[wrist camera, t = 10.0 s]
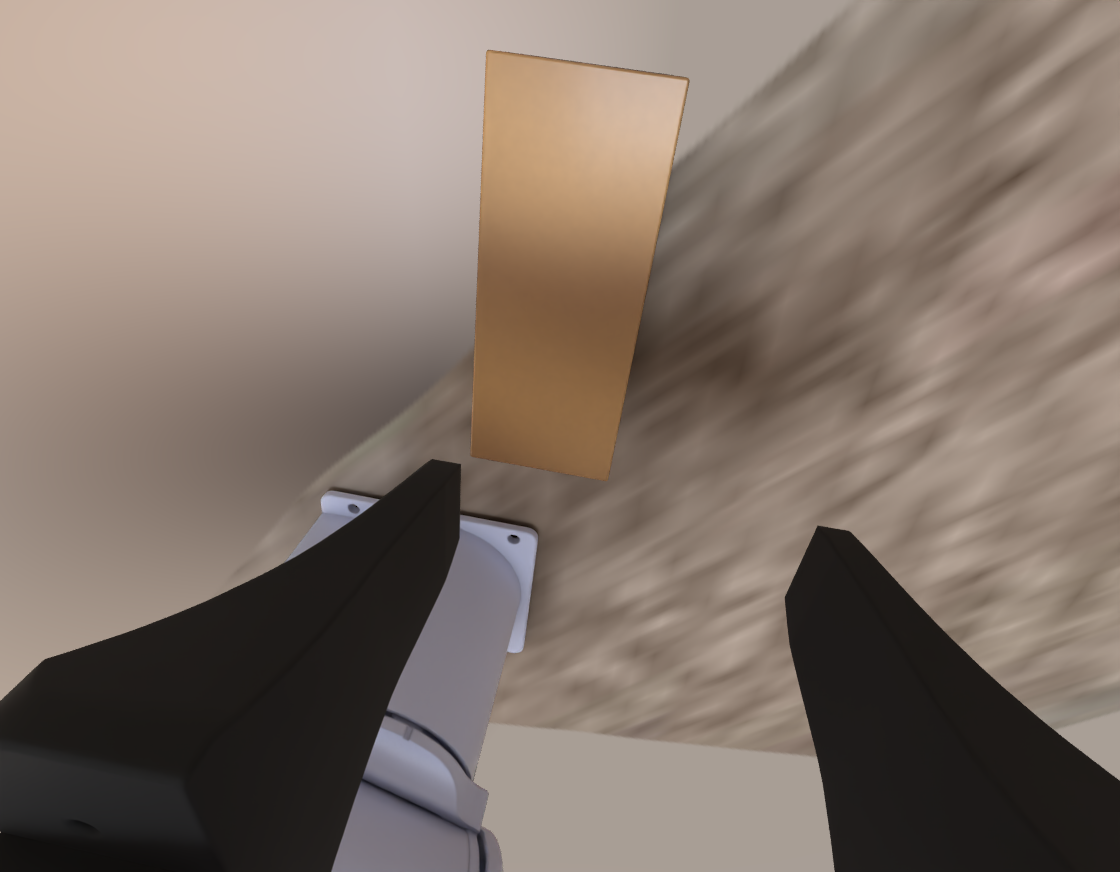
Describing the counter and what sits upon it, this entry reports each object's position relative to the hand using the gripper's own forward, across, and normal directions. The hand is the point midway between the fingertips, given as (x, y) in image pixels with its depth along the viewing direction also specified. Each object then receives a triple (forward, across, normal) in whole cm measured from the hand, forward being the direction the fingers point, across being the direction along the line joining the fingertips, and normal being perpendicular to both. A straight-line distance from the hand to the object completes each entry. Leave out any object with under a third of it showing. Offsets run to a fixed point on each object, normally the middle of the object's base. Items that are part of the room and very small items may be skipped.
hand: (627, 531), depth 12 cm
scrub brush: (+9, +2, -2) cm, 10 cm away
